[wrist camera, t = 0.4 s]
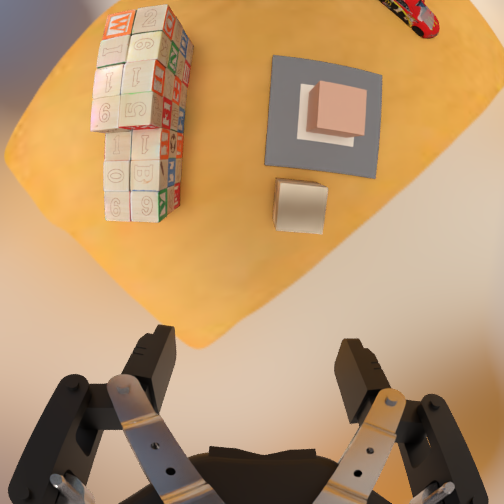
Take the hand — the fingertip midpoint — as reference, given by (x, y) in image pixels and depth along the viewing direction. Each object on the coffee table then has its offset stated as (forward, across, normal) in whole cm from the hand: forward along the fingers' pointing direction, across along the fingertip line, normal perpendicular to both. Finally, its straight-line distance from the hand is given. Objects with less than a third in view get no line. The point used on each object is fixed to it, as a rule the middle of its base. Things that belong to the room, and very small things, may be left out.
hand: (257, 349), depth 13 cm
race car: (+25, -18, -35) cm, 47 cm away
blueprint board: (+24, -7, -14) cm, 29 cm away
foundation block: (+24, -7, -14) cm, 29 cm away
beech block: (+24, -4, -3) cm, 25 cm away
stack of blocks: (+25, +13, -12) cm, 30 cm away
